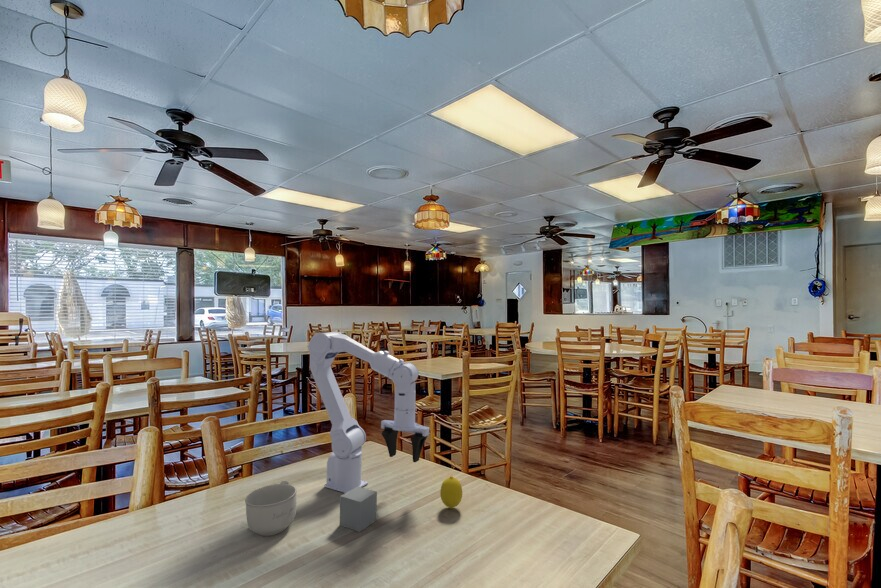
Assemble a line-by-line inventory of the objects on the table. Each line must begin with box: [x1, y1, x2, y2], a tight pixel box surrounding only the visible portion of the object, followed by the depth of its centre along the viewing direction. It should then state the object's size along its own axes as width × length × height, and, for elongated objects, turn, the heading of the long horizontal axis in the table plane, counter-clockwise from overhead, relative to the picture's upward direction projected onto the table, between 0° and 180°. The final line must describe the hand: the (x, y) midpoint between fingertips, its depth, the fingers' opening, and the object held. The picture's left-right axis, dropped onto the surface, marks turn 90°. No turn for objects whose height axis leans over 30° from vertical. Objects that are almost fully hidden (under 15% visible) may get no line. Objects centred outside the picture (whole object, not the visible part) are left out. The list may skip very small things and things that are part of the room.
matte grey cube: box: [339, 486, 378, 533], centre depth 95 cm, size 6×6×7 cm
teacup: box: [244, 480, 298, 537], centre depth 94 cm, size 14×11×8 cm
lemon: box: [439, 475, 463, 510], centre depth 102 cm, size 6×6×8 cm
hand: (404, 458), depth 110 cm, fingers open, 7 cm apart
